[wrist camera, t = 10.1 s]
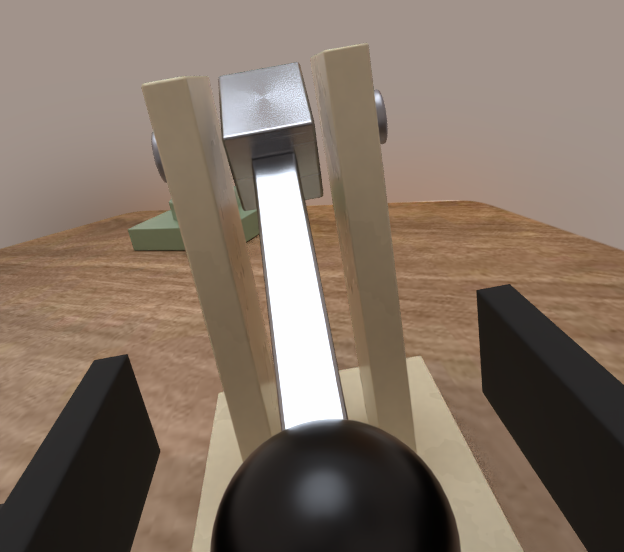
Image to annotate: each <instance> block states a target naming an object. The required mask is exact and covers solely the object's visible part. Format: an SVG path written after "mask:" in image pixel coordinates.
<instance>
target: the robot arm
mask: <svg viewBox="0 0 624 552" xmlns="http://www.w3.org/2000/svg"><path fill="white" fill-rule="evenodd" d="M476 291H477V308H478V325H479V341H480V358H481V375H482V391H483V393H484V395H485V396H486V398H487V399H488V401H489V402H490V404H491V405H492V407H493V408H494V410H495V412H496V413H497V415H498V416H499V418H500V419H501V421H502V422H503V424H504V425H505V427H506V428H507V430H508V431H509V433H510V434H511V436H512V437H513V439H514V440H515V442H516V443H517V445H518V446H519V448H520V449H521V451H522V452H523V454H524V455H525V457H526V458H527V460H528V461H529V463H530V464H531V466H532V468H533V469H534V471H535V472H536V474H537V475H538V477H539V478H540V480H541V481H542V483H543V484H544V486H545V487H546V489H547V490H548V492H549V493H550V495H551V496H552V498H553V499H554V501H555V502H556V504H557V505H558V507H559V508H560V510H561V511H562V513H563V514H564V516H565V517H566V519H567V520H568V522H569V524H570V525H571V527H572V528H573V530H574V531H575V533H576V534H577V536H578V537H579V539H580V540H581V542H582V543H583V545H584V546H585V548H586V549H587V551H588V552H624V385H623V384H622V383H621V382H620V381H619V380H617V379H616V378H615V377H614V376H613V375H612V374H611V373H610V372H608V371H607V370H606V369H605V368H604V367H603V366H602V365H600V364H599V363H598V362H597V361H596V360H595V359H594V358H593V357H591V356H590V355H589V354H588V353H587V352H586V351H585V350H583V349H582V348H581V347H580V346H579V345H578V344H577V343H576V342H574V341H573V340H572V339H571V338H570V337H569V336H568V335H567V334H565V333H564V332H563V331H562V330H561V329H560V328H559V327H557V326H556V325H555V324H554V323H553V322H552V321H551V320H550V319H548V318H547V317H546V316H545V315H544V314H543V313H542V312H540V311H539V310H538V309H537V308H536V307H535V306H534V305H533V304H531V303H530V302H529V301H528V300H527V299H526V298H525V297H524V296H522V295H521V294H520V293H519V292H518V291H517V290H516V289H514V288H513V287H512V286H511V285H510V284H508V285H502V286H497V287H491V288H486V289H480V290H476ZM159 454H160V448H159V446H158V443H157V440H156V437H155V434H154V431H153V428H152V425H151V422H150V419H149V416H148V413H147V410H146V407H145V404H144V401H143V398H142V395H141V392H140V389H139V386H138V384H137V381H136V378H135V375H134V372H133V369H132V366H131V363H130V360H129V357H128V354H126V355H120V356H115V357H109V358H104V359H99V360H94V362H93V363H92V365H91V366H90V368H89V369H88V371H87V373H86V374H85V376H84V377H83V379H82V381H81V382H80V384H79V385H78V387H77V389H76V390H75V392H74V393H73V395H72V397H71V398H70V400H69V401H68V403H67V404H66V406H65V408H64V409H63V411H62V412H61V414H60V416H59V417H58V419H57V420H56V422H55V424H54V425H53V427H52V428H51V430H50V431H49V433H48V435H47V436H46V438H45V439H44V441H43V443H42V444H41V446H40V447H39V449H38V451H37V452H36V454H35V455H34V457H33V458H32V460H31V462H30V463H29V465H28V466H27V468H26V470H25V471H24V473H23V474H22V476H21V478H20V479H19V481H18V482H17V484H16V485H15V487H14V489H13V490H12V492H11V493H10V495H9V497H8V498H7V500H6V501H5V503H4V504H0V552H130V551H131V547H132V544H133V541H134V537H135V534H136V531H137V527H138V524H139V521H140V517H141V514H142V511H143V507H144V504H145V501H146V497H147V494H148V491H149V487H150V484H151V481H152V477H153V474H154V471H155V467H156V464H157V461H158V458H159Z"/></svg>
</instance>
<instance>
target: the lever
mask: <svg viewBox="0 0 624 552" xmlns="http://www.w3.org/2000/svg"><path fill="white" fill-rule="evenodd" d="M218 83H219V100H220V118H221V136H222V142H223V146H224V149H225V152H226V156H227V159H228V163H229V166H230V169H231V173H232V176H233V179H234V183H235V186H236V189H237V193H238V196H239V199H240V203H241V206H242V209H243V210H244V211H249V210H254V209H257V218H258V227H259V236H260V245H261V254H262V263H263V272H264V281H265V290H266V299H267V308H268V317H269V326H270V335H271V344H272V353H273V362H274V371H275V380H276V389H277V398H278V407H279V416H280V425H281V432H279V433H278V434H276V435H274V436H272V437H271V438H270V439H268V440H267V441H265V442H264V443H262V444H261V445H260V446H259V447H258V448H257V449H256V450H254V451H253V452H252V453H251V454H250V455H249V456H248V458H247V459H246V460H245V461H244V462H243V463H242V464H241V466H240V467H239V468H238V470H237V471H236V473H235V474H234V476H233V477H232V479H231V481H230V482H229V484H228V486H227V488H226V490H225V492H224V494H223V497H222V499H221V502H220V504H219V507H218V510H217V514H216V517H215V521H214V525H213V530H212V537H211V545H210V552H461V545H460V536H459V532H458V528H457V523H456V519H455V516H454V514H453V511H452V508H451V505H450V503H449V500H448V498H447V496H446V494H445V492H444V490H443V488H442V486H441V484H440V482H439V481H438V479H437V478H436V476H435V475H434V473H433V472H432V470H431V469H430V468H429V467H428V466H427V464H426V463H425V462H424V461H423V460H422V458H421V457H420V456H419V455H417V454H416V453H415V452H414V451H413V450H412V449H411V448H410V447H409V446H407V445H406V444H405V443H403V442H402V441H400V440H399V439H398V438H396V437H395V436H393V435H391V434H389V433H387V432H386V431H384V430H382V429H380V428H377V427H375V426H372V425H369V424H366V423H362V422H359V421H355V420H348V415H347V410H346V405H345V400H344V395H343V390H342V384H341V379H340V374H339V369H338V364H337V359H336V354H335V349H334V344H333V339H332V334H331V329H330V324H329V319H328V314H327V309H326V304H325V299H324V294H323V289H322V284H321V279H320V273H319V268H318V263H317V258H316V253H315V248H314V243H313V238H312V233H311V228H310V223H309V218H308V213H307V208H306V203H305V200H309V199H314V198H320V197H322V196H323V187H322V179H321V171H320V163H319V156H318V147H317V140H316V132H315V124H314V120H313V115H312V111H311V107H310V103H309V99H308V95H307V91H306V87H305V83H304V79H303V75H302V71H301V67H300V64H299V63H297V62H295V63H290V64H284V65H279V66H274V67H268V68H262V69H257V70H251V71H246V72H240V73H235V74H229V75H224V76H220V77H219V78H218Z"/></svg>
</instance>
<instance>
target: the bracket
mask: <svg viewBox="0 0 624 552" xmlns="http://www.w3.org/2000/svg"><path fill="white" fill-rule="evenodd" d="M310 61H311V67H312V74H313V80H314V86H315V92H316V99H317V105H318V112H319V118H320V124H321V130H322V137H323V143H324V150H325V155H326V162H327V169H328V175H329V181H330V188H331V194H332V200H333V207H334V213H335V220H336V226H337V232H338V239H339V245H340V251H341V258H342V264H343V270H344V277H345V283H346V289H347V296H348V302H349V308H350V315H351V321H352V327H353V334H354V340H355V346H356V353H357V359H358V366H359V367H356V368H351V369H345V370H340V371H339V374H340V379H341V384H342V390H343V395H344V400H345V405H346V410H347V415H348V420H355V421H359V422H362V423H366V424H369V425H372V426H375V427H377V428H380V429H382V430H384V431H386V432H387V433H389V434H391V435H393V436H395V437H396V438H398V439H399V440H400V441H402V442H403V443H405V444H406V445H407V446H409V447H410V448H411V449H412V450H413V451H414V452H415V453H416V454H417V455H419V456H420V457H421V458H422V460H423V461H424V462H425V463H426V464H427V466H428V467H429V468H430V469H431V470H432V472H433V473H434V475H435V476H436V478H437V479H438V481H439V482H440V484H441V486H442V488H443V490H444V492H445V494H446V496H447V498H448V500H449V503H450V505H451V508H452V511H453V514H454V516H455V519H456V523H457V528H458V532H459V536H460V545H461V552H524V551H523V549H522V547H521V545H520V543H519V542H518V540H517V538H516V536H515V534H514V532H513V530H512V528H511V526H510V524H509V523H508V521H507V519H506V517H505V515H504V513H503V511H502V509H501V507H500V505H499V504H498V502H497V500H496V498H495V496H494V494H493V492H492V490H491V488H490V486H489V485H488V483H487V481H486V479H485V477H484V475H483V473H482V471H481V469H480V467H479V465H478V464H477V462H476V460H475V458H474V456H473V454H472V452H471V450H470V448H469V446H468V445H467V443H466V441H465V439H464V437H463V435H462V433H461V431H460V429H459V427H458V426H457V424H456V422H455V420H454V418H453V416H452V414H451V412H450V410H449V408H448V406H447V405H446V403H445V401H444V399H443V397H442V395H441V393H440V391H439V389H438V387H437V386H436V384H435V382H434V380H433V378H432V376H431V374H430V372H429V370H428V368H427V367H426V365H425V363H424V361H423V359H422V357H421V356H416V357H411V358H406V355H405V347H404V338H403V330H402V321H401V313H400V305H399V296H398V288H397V280H396V271H395V263H394V254H393V246H392V238H391V229H390V221H389V212H388V204H387V196H386V187H385V179H384V170H383V162H382V154H381V145H380V144H384V143H385V142H386V140H387V118H386V110H385V105H384V101H383V98H382V95H381V93H380V91H379V90H374V86H373V78H372V70H371V61H370V53H369V45H368V43H364V44H357V45H352V46H346V47H341V48H335V49H330V50H325V51H323V52H321V53H319V54H317V55H315V56H313V57H311V58H310ZM142 92H143V95H144V99H145V102H146V106H147V110H148V114H149V117H150V121H151V125H152V128H153V132H152V139H151V140H152V150H153V155H154V159H155V163H156V166H157V169H158V171H159V174H160V176H161V177H162V179H163V181H164V182H166V183H167V184H168V188H169V191H170V194H171V199H172V202H173V206H174V210H175V213H176V217H177V221H178V225H179V228H180V232H181V236H182V239H183V243H184V247H185V250H186V254H187V258H188V261H189V265H190V269H191V273H192V276H193V280H194V284H195V287H196V291H197V295H198V298H199V302H200V306H201V309H202V313H203V317H204V321H205V324H206V328H207V332H208V335H209V339H210V343H211V346H212V350H213V354H214V357H215V361H216V365H217V369H218V372H219V376H220V380H221V383H222V387H223V391H224V392H220V393H219V394H218V400H217V406H216V412H215V417H214V423H213V429H212V435H211V441H210V446H209V452H208V458H207V464H206V470H205V475H204V481H203V487H202V493H201V498H200V504H199V510H198V516H197V522H196V527H195V533H194V539H193V545H192V551H191V552H210V545H211V537H212V530H213V525H214V521H215V517H216V514H217V510H218V507H219V504H220V502H221V499H222V497H223V494H224V492H225V490H226V488H227V486H228V484H229V482H230V481H231V479H232V477H233V476H234V474H235V473H236V471H237V470H238V468H239V467H240V466H241V464H242V463H243V462H244V461H245V460H246V459H247V458H248V456H249V455H250V454H251V453H252V452H253V451H254V450H256V449H257V448H258V447H259V446H260V445H261V444H262V443H264V442H265V441H267V440H268V439H270V438H271V437H272V436H274V435H276V434H278V433H279V432H281V425H280V416H279V407H278V398H277V389H276V380H275V371H274V364H273V360H272V355H271V351H270V346H269V342H268V337H267V333H266V329H265V324H264V320H263V315H262V311H261V306H260V302H259V298H258V293H257V289H256V284H255V280H254V275H253V271H252V266H251V262H250V258H249V253H248V249H247V244H246V240H245V235H244V231H243V226H242V222H241V218H240V213H239V209H238V204H237V200H236V195H235V191H234V186H233V182H232V178H231V173H230V169H229V164H228V160H227V156H226V152H225V149H224V146H223V142H222V136H221V129H220V125H219V120H218V116H217V112H216V106H215V103H214V98H213V93H212V89H211V84H210V80H209V77H207V76H181V77H176V78H171V79H165V80H159V81H154V82H148V83H144V84H142Z"/></svg>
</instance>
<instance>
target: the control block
mask: <svg viewBox="0 0 624 552" xmlns="http://www.w3.org/2000/svg"><path fill="white" fill-rule="evenodd" d="M234 191H235V195H236V200H237V204H238V209H239V213H240V218H241V222H242V226H243V231H244V235H245V240H246V242H247V241H249V240H250V239H252V238H253V237H255V236H256V235H258V234H259V227H258V218H257V209H254V210H249V211H244V210H243V209H242V206H241V203H240V199H239V197H238V193H237V189H236V186H234ZM169 205H170V208H171V210H169V211H167V212H165V213H163V214H160V215H158V216H156V217H154V218H152V219H149V220H147V221H145V222H143V223H141V224H138V225H136V226H134V227H132V228H130V229H128V232H129V235H130V238H131V242H132V245H133V248H134V250H185V247H184V243H183V239H182V236H181V232H180V228H179V225H178V221H177V217H176V213H175V210H174V206H173V202H172V199H171V200H170V201H169Z"/></svg>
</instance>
